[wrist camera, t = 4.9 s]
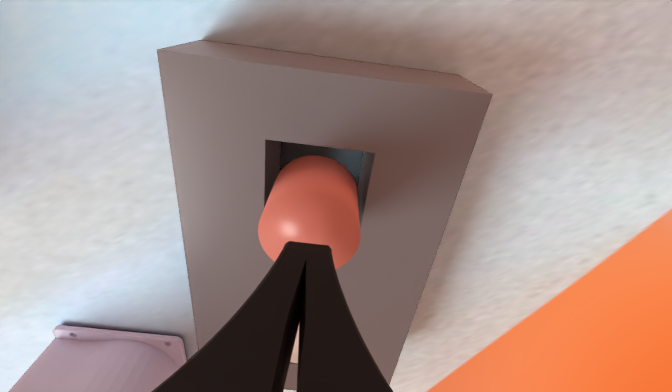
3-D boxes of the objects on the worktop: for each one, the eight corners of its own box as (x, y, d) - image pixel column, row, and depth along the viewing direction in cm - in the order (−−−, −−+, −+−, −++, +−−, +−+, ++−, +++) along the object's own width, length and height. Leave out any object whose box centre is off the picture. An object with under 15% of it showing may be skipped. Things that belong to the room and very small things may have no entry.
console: (222, 329, 25) (202, 381, 21) (200, 40, 15) (156, 49, 11) (378, 344, 25) (384, 398, 22) (458, 75, 15) (492, 94, 12)
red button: (272, 223, 15) (257, 269, 12) (274, 150, 13) (257, 185, 11) (350, 232, 15) (352, 278, 12) (363, 161, 13) (368, 198, 11)
